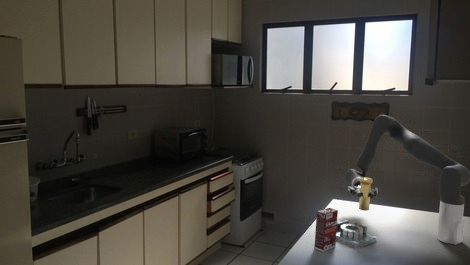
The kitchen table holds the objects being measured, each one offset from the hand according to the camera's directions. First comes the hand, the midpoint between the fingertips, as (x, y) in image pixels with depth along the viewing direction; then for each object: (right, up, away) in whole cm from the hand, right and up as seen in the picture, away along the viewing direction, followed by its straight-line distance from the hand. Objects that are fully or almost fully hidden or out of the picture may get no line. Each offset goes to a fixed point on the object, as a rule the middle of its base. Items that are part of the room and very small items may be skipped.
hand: (365, 195), depth 180 cm
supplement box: (-21, -20, -14) cm, 32 cm away
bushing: (0, -7, +4) cm, 8 cm away
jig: (-8, -18, -4) cm, 20 cm away
